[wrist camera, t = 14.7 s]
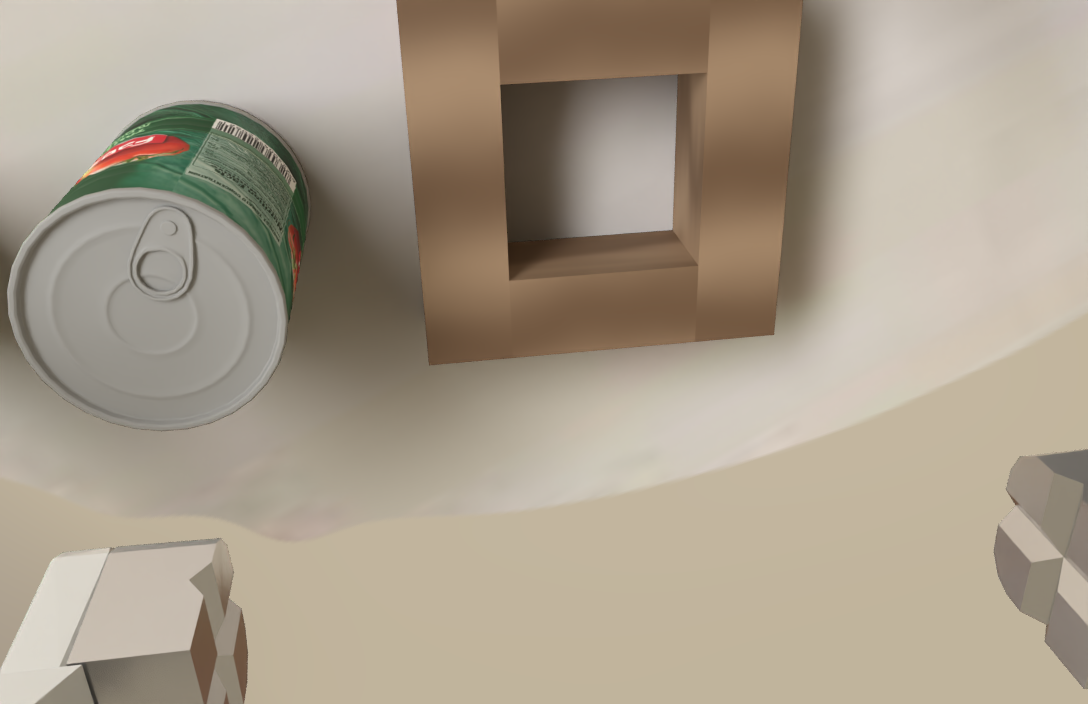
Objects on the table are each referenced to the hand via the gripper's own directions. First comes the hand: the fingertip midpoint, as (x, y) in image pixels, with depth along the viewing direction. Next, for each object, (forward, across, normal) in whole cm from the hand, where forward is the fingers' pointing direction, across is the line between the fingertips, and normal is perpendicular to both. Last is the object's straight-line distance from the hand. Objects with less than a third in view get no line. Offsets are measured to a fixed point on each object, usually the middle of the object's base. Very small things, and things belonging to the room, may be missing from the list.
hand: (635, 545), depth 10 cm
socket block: (+31, -5, +5) cm, 32 cm away
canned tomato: (+31, +10, +6) cm, 34 cm away
